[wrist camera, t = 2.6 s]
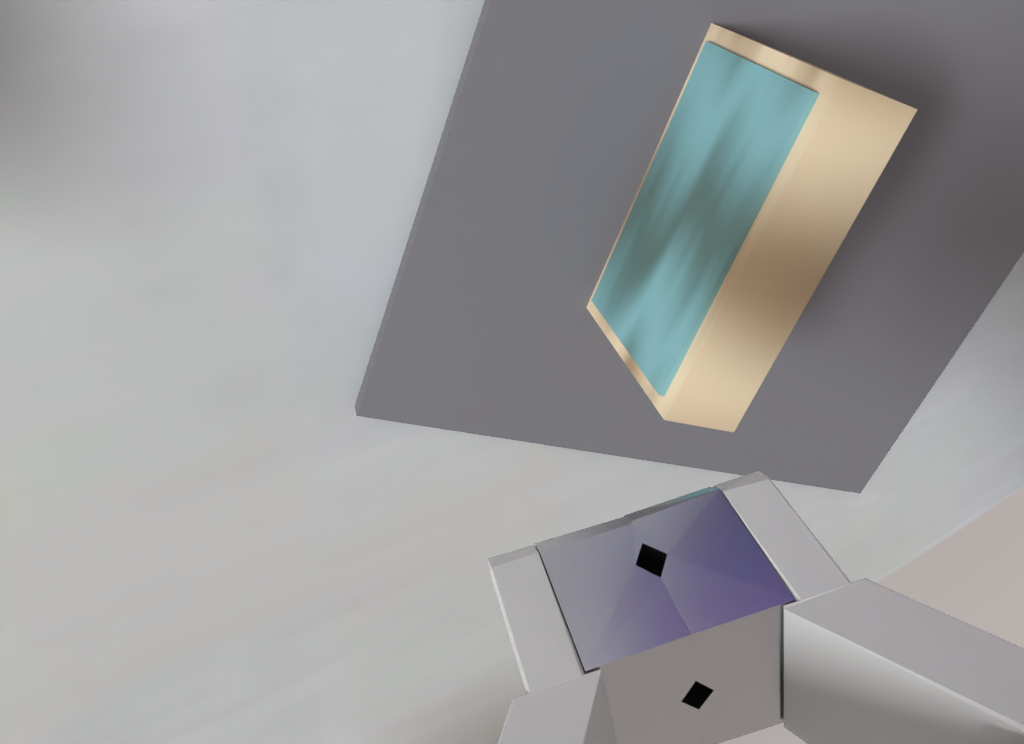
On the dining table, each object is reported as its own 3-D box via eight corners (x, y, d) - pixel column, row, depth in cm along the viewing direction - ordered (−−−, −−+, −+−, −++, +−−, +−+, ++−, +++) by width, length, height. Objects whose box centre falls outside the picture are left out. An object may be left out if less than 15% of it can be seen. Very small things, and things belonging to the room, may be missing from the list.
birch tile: (645, 321, 31) (733, 432, 25) (581, 306, 30) (658, 418, 24) (776, 49, 27) (917, 109, 21) (706, 20, 26) (835, 75, 20)
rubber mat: (852, 485, 40) (860, 493, 39) (354, 406, 31) (356, 415, 30) (1170, 9, 30) (1185, 12, 30) (586, -317, 21) (594, -320, 20)
